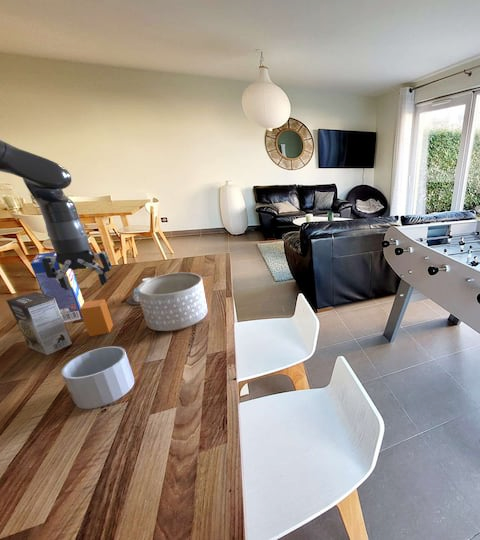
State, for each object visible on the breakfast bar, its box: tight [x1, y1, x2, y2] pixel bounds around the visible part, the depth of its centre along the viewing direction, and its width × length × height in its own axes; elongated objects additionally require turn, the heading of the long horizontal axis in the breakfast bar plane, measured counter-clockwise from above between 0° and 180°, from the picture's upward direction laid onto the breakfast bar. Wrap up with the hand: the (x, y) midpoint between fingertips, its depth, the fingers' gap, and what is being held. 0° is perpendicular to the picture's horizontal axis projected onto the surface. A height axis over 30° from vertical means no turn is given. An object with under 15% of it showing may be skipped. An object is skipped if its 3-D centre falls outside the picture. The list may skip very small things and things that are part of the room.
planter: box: [136, 272, 209, 332], centre depth 99 cm, size 19×19×14 cm
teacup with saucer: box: [126, 277, 152, 307], centre depth 114 cm, size 12×12×8 cm
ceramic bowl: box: [61, 345, 136, 410], centre depth 70 cm, size 11×11×9 cm
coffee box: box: [5, 291, 73, 356], centre depth 83 cm, size 9×6×16 cm
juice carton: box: [80, 298, 114, 337], centre depth 92 cm, size 5×5×10 cm
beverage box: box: [30, 251, 85, 324], centre depth 98 cm, size 7×11×22 cm, turn 38°
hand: (86, 286), depth 88 cm, fingers open, 8 cm apart
